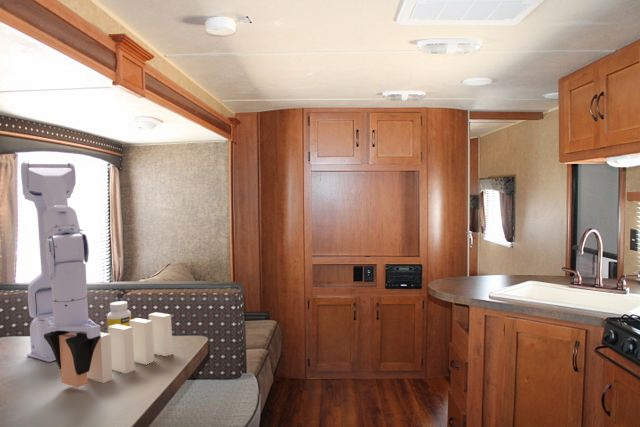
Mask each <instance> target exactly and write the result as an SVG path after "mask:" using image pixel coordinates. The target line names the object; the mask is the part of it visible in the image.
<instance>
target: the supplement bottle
mask: <svg viewBox="0 0 640 427" xmlns="http://www.w3.org/2000/svg"><path fill="white" fill-rule="evenodd" d="M128 307H129V305H128V301H125V300H119V301H114V302H110V303H109V310H110V311H109V312H108V313H107V316H106V321H107V323H106V324H107V328H108V327H109V326H112V325H115V324H119V325H125V326H130V324H129V320H132V313H131V310H129V309H128ZM107 333H108V332H107ZM108 334H109V333H108Z"/></svg>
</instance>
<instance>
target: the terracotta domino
mask: <svg viewBox="0 0 640 427" xmlns="http://www.w3.org/2000/svg"><path fill="white" fill-rule="evenodd" d="M75 336H77V334H74V333H70V332H69V333H66V334H62V335H59V343H60V360H61V369H60V372H61V373H60V374H61V383H62V384H65V385H68V386H71V387H74V388H80V387H82V386H85V385H87V384H88V383H89V382H88V380H89V379H88V377H87V372H86V373H83V374H81V375H77V374H76V371H75V367H74V361H73V356H72V353H71V350H70V348H69V346H68V345H67V343H66V342H65V339H68V338H71V337H75Z"/></svg>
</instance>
